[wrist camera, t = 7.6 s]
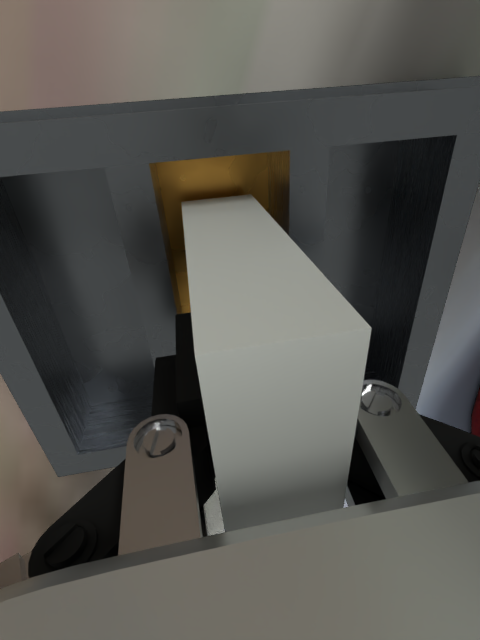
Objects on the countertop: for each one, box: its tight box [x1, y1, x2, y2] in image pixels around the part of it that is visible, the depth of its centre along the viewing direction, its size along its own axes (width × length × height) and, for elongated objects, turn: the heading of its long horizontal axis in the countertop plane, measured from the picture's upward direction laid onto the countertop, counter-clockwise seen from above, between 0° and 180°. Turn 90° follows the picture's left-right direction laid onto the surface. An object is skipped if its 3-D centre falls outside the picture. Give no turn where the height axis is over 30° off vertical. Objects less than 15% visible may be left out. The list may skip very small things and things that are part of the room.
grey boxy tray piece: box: [0, 76, 480, 477], centre depth 14 cm, size 20×14×4 cm
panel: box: [181, 194, 372, 532], centre depth 11 cm, size 2×8×9 cm, turn 4°
